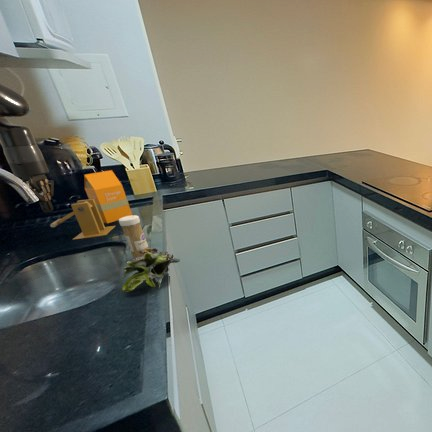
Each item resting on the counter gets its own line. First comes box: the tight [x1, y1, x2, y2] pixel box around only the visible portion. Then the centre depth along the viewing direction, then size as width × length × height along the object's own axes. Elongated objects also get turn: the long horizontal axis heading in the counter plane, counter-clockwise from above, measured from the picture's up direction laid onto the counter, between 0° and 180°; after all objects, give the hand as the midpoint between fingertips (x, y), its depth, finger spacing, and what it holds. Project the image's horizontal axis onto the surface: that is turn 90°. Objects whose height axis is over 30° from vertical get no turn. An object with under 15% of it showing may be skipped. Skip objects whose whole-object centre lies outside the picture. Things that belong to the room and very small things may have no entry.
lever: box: [49, 201, 92, 228], centre depth 102 cm, size 12×5×2 cm, turn 113°
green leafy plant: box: [121, 247, 181, 294], centre depth 76 cm, size 11×11×12 cm
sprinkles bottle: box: [118, 214, 150, 261], centre depth 88 cm, size 5×5×14 cm
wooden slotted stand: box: [70, 198, 116, 241], centre depth 105 cm, size 9×9×13 cm
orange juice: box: [83, 169, 133, 224], centre depth 117 cm, size 8×9×20 cm
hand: (48, 211), depth 99 cm, fingers closed
